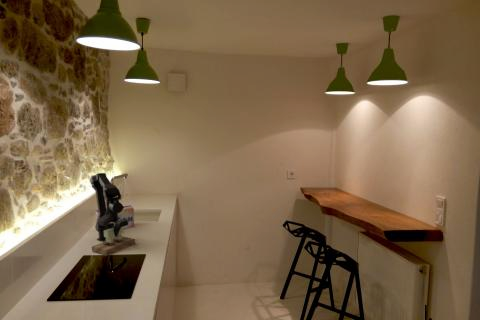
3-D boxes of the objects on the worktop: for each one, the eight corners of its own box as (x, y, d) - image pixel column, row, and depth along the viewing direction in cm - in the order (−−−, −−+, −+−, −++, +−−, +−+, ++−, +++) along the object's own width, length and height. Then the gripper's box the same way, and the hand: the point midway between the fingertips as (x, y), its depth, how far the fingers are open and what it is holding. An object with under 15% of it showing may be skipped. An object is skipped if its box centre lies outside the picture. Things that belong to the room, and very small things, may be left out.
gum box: (133, 223, 240) (132, 204, 238) (136, 226, 233) (135, 207, 232) (96, 230, 227) (95, 210, 225) (99, 233, 220) (98, 212, 218)
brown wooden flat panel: (92, 251, 189) (91, 246, 189) (120, 240, 206) (120, 235, 206) (106, 255, 183) (106, 250, 183) (135, 243, 201) (135, 238, 200)
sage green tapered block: (104, 241, 191) (103, 230, 190) (118, 236, 200) (118, 225, 199) (108, 243, 189) (107, 231, 188) (122, 237, 198) (122, 226, 197)
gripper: (88, 210, 190) (90, 238, 192) (111, 215, 181) (113, 243, 183) (105, 206, 200) (106, 232, 201) (128, 210, 190) (129, 237, 192)
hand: (113, 236), depth 194 cm, fingers closed on sage green tapered block, 3 cm apart
